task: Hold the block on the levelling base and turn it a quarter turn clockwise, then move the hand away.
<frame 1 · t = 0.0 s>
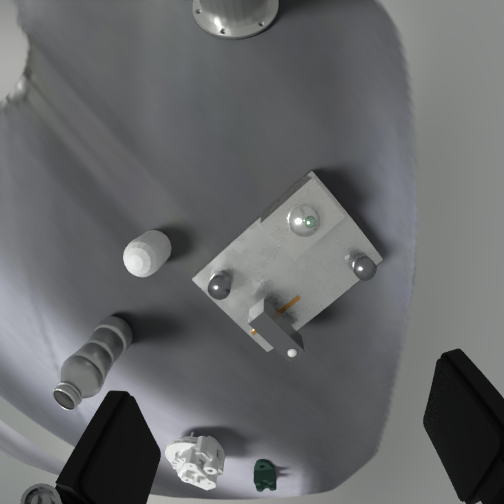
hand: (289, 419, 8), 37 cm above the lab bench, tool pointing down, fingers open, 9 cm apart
block: (276, 327, 42), point 6 cm above the lab bench, hinge at 0.0°
levelling base: (287, 263, 46), on the lab bench
plastic bottle: (119, 328, 50), on the lab bench
mount: (265, 470, 60), on the lab bench
capsule: (155, 247, 46), on the lab bench
mechanical part: (198, 440, 57), on the lab bench
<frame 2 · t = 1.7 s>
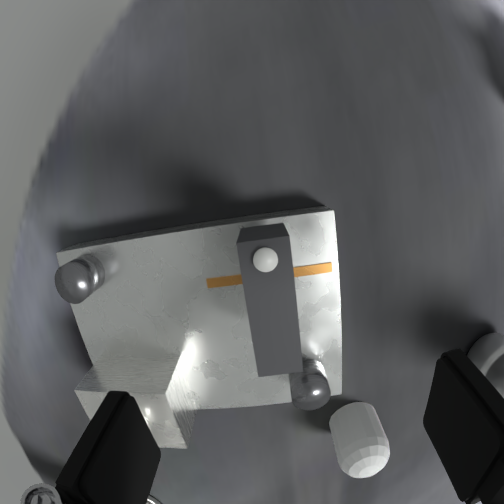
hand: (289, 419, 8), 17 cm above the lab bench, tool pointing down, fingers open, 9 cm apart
block: (271, 294, 19), point 7 cm above the lab bench, hinge at 0.0°
levelling base: (204, 316, 27), on the lab bench
plastic bottle: (479, 350, 28), on the lab bench
capsule: (352, 418, 30), on the lab bench
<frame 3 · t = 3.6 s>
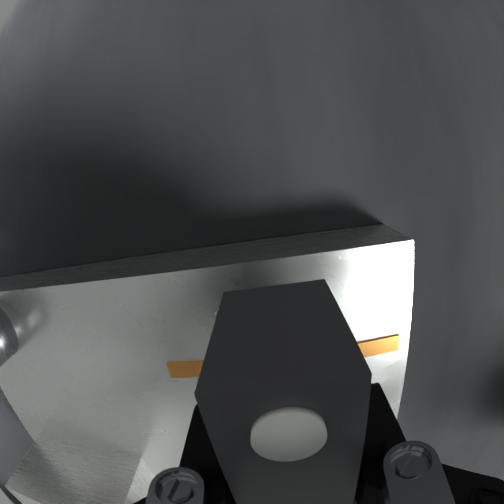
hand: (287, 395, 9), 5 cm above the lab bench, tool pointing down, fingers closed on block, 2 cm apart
block: (290, 428, 8), point 6 cm above the lab bench, hinge at 0.0°, touching gripper
levelling base: (177, 396, 16), on the lab bench
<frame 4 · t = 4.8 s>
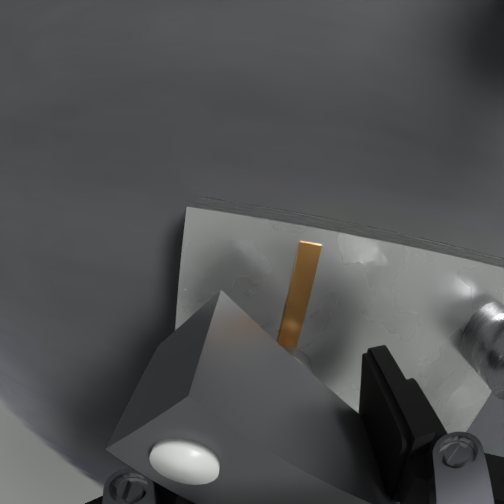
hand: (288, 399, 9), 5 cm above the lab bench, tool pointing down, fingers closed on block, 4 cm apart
block: (288, 430, 8), point 7 cm above the lab bench, hinge at -37.3°, touching gripper
levelling base: (325, 421, 16), on the lab bench
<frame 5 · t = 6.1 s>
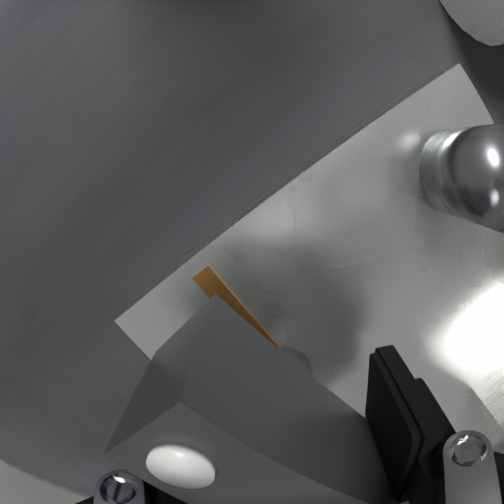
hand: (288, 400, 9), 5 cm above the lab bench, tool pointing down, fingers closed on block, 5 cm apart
block: (288, 432, 8), point 6 cm above the lab bench, hinge at -82.5°, touching gripper
levelling base: (406, 357, 14), on the lab bench
capsule: (471, 5, 9), on the lab bench
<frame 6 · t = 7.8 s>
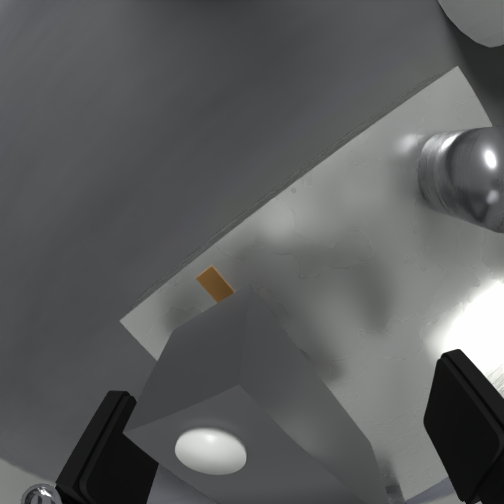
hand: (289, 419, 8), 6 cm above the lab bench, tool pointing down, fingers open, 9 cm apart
block: (290, 428, 8), point 6 cm above the lab bench, hinge at -93.8°
levelling base: (406, 356, 15), on the lab bench
capsule: (470, 6, 9), on the lab bench
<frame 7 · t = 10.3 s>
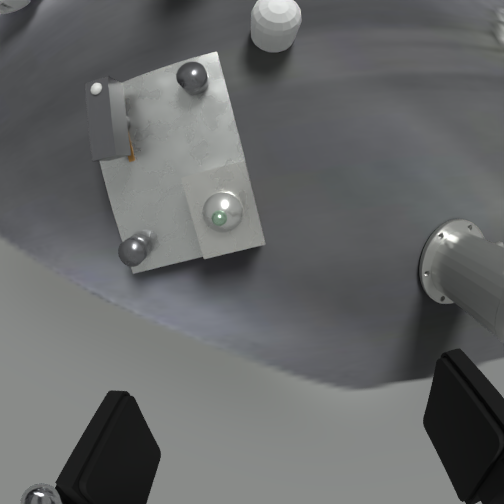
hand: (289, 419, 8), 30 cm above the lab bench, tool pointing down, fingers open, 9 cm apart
block: (111, 120, 28), point 6 cm above the lab bench, hinge at -96.1°
levelling base: (174, 163, 35), on the lab bench
capsule: (272, 34, 31), on the lab bench
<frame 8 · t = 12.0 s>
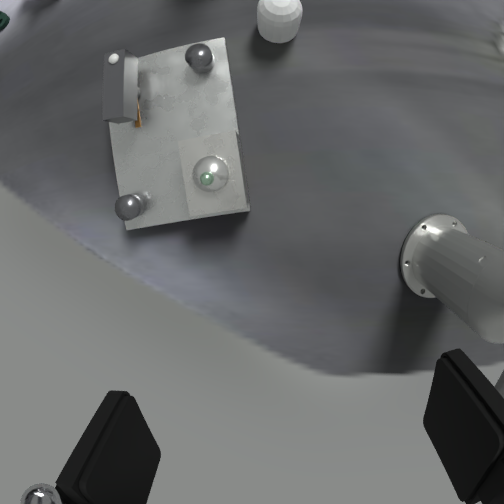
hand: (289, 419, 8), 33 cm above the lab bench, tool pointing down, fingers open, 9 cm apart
block: (123, 88, 30), point 7 cm above the lab bench, hinge at -96.2°
levelling base: (176, 133, 38), on the lab bench
capsule: (277, 27, 33), on the lab bench
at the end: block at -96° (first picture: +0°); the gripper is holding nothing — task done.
